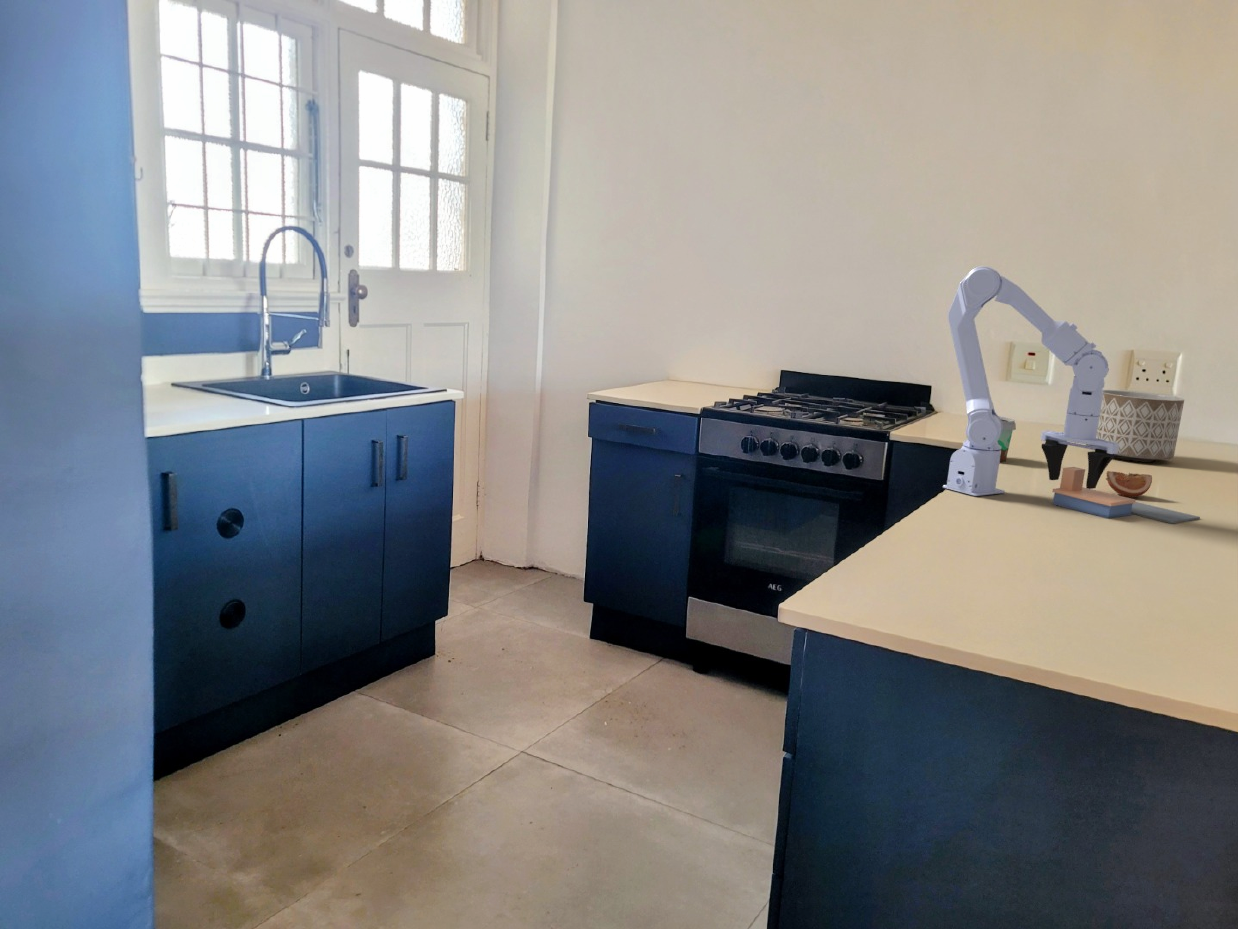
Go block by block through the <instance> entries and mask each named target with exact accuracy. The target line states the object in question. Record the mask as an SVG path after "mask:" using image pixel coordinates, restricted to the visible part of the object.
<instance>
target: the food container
mask: <svg viewBox="0 0 1238 929" xmlns="http://www.w3.org/2000/svg"><path fill="white" fill-rule="evenodd" d="M998 416H999V415H998ZM999 417H1000V419H1001V421H1002V423H1003V430H1002V433H1001V435H1000V437H999V439H998V441H997V442H998V444H999V445H1000V446H1001V447H1002V448H1001V455H1000V462H999V463H1005V462H1006V461H1007V457H1008V452H1009V449H1010V443H1011V438H1012V434H1013V431H1016V429H1017V426H1016V425H1017V424H1016V422H1015V419H1013V418H1011V417H1010V418H1009V417H1006V416H999Z"/></svg>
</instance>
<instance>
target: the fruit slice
mask: <svg viewBox="0 0 1238 929" xmlns="http://www.w3.org/2000/svg"><path fill="white" fill-rule="evenodd" d="M1105 480H1106V481H1107V484H1108V486H1109V487H1110V488H1111V489H1112V490H1113V491H1114V492H1115V493H1117V494H1119V496H1122V497H1127V498H1136V497H1141V496H1142V495H1145V493H1147V492H1148V491H1149V489H1150V488H1151V486H1152V483H1153V477H1152V475H1151V474H1143V473H1141V474H1140V473H1130V472H1129V473H1128V474H1126V473H1123V472H1121V471H1111V470H1108V471H1106V478H1105Z"/></svg>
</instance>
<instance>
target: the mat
mask: <svg viewBox="0 0 1238 929" xmlns="http://www.w3.org/2000/svg"><path fill="white" fill-rule="evenodd" d="M1131 515H1135V516H1139V517H1143V518H1147V519H1151V520H1156V521H1160V522H1163V523H1168V524H1171V525H1172V524H1178V523H1184V522H1189V521H1195V520H1196V521H1197V520H1200V519H1201V517H1200V516H1198V515H1193V514H1190V513H1184V512H1180V511H1176V510H1171V509H1168V508H1163V507H1159V506H1154V505H1151V504H1146V503H1142V502H1139V501H1135V503H1133V504H1132V509H1131Z"/></svg>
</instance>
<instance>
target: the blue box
mask: <svg viewBox="0 0 1238 929" xmlns="http://www.w3.org/2000/svg"><path fill="white" fill-rule="evenodd" d="M1053 493H1054V492H1053ZM1053 504H1055V505H1054V506H1057V505H1058V506H1059V507H1061V506H1062V507H1061V508H1064V509H1065V508H1066V509H1070V510H1073V509H1074V511H1078V512H1081V513H1085V514H1088V515H1094V516H1096V517H1101V518H1105V519H1111V518H1119V517H1126V516H1130V515H1132V514H1131V509H1132V504H1133V503H1130V504H1123V505H1116V506H1108V505H1104V504H1100V503H1096V502H1092V501H1087V500H1083V499H1079V498H1075V497H1071V496H1067V495H1063V494H1059V493H1054V494H1053V500H1052V505H1053ZM1058 506H1057V507H1058Z"/></svg>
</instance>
